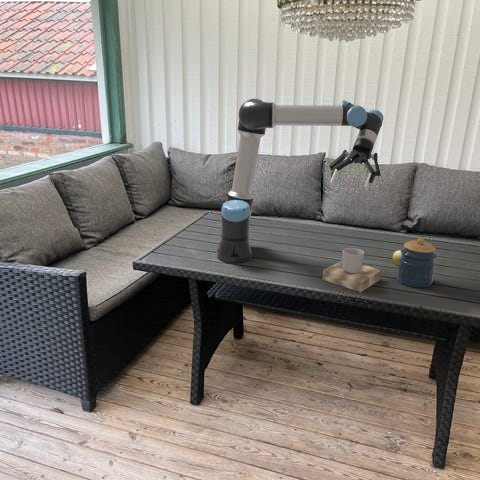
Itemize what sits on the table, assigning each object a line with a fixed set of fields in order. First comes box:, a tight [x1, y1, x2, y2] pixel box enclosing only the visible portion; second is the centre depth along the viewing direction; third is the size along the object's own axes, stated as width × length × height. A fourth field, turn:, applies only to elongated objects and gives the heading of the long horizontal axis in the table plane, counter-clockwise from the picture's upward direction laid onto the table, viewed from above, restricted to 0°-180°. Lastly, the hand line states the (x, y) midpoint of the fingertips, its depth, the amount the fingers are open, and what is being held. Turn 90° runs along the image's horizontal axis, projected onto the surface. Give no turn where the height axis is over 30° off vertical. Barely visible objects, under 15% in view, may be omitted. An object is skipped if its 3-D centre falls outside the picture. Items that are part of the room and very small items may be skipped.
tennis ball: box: [391, 249, 402, 266], centre depth 191 cm, size 6×7×7 cm
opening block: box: [322, 260, 382, 293], centre depth 173 cm, size 16×16×4 cm
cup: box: [341, 247, 365, 273], centre depth 172 cm, size 11×8×8 cm
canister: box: [396, 237, 438, 289], centre depth 172 cm, size 13×13×18 cm
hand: (348, 186), depth 175 cm, fingers open, 13 cm apart
